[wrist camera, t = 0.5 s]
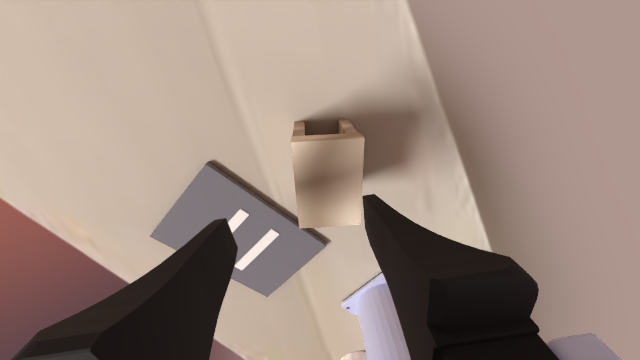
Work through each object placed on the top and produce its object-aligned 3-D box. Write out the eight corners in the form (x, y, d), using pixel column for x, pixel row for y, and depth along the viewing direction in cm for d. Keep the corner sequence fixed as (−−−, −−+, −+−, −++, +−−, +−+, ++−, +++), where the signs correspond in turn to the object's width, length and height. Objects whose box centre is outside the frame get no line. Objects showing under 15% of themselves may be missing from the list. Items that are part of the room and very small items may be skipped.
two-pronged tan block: (347, 116, 20) (364, 138, 14) (347, 185, 23) (360, 224, 17) (294, 119, 19) (290, 142, 14) (300, 188, 22) (299, 228, 17)
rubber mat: (325, 242, 25) (326, 246, 25) (268, 292, 28) (267, 297, 28) (207, 161, 21) (205, 164, 20) (153, 232, 24) (149, 237, 23)
